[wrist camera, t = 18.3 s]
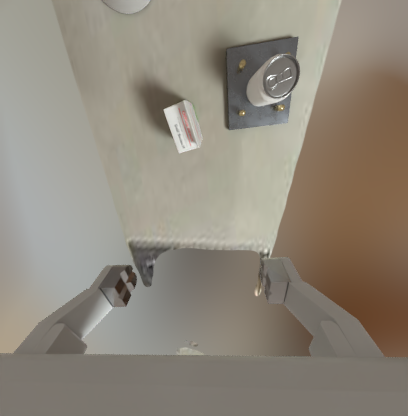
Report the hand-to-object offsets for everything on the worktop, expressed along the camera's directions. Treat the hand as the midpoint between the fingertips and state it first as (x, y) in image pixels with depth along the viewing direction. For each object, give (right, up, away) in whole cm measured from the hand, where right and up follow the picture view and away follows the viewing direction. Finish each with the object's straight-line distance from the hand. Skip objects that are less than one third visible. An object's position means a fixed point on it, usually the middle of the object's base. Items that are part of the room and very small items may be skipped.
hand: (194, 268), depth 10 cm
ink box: (-3, +25, +31) cm, 40 cm away
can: (+13, +30, +26) cm, 42 cm away
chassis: (+13, +31, +27) cm, 43 cm away
